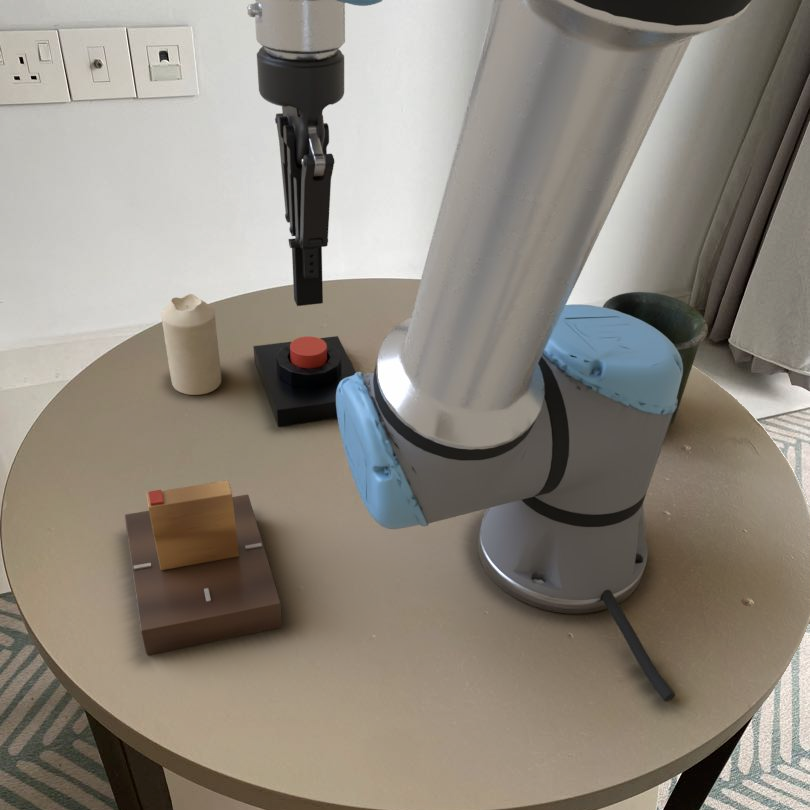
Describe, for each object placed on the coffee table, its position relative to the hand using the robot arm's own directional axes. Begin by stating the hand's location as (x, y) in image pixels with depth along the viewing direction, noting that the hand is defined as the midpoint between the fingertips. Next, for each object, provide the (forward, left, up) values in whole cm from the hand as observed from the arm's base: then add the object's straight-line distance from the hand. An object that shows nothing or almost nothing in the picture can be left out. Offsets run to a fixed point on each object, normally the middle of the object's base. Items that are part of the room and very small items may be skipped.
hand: (308, 301), depth 90 cm
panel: (-27, +16, -11) cm, 33 cm away
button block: (0, 0, -11) cm, 11 cm away
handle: (-27, +16, -8) cm, 32 cm away
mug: (-15, -33, -11) cm, 38 cm away
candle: (+4, +12, -11) cm, 17 cm away
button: (0, 0, -7) cm, 7 cm away
